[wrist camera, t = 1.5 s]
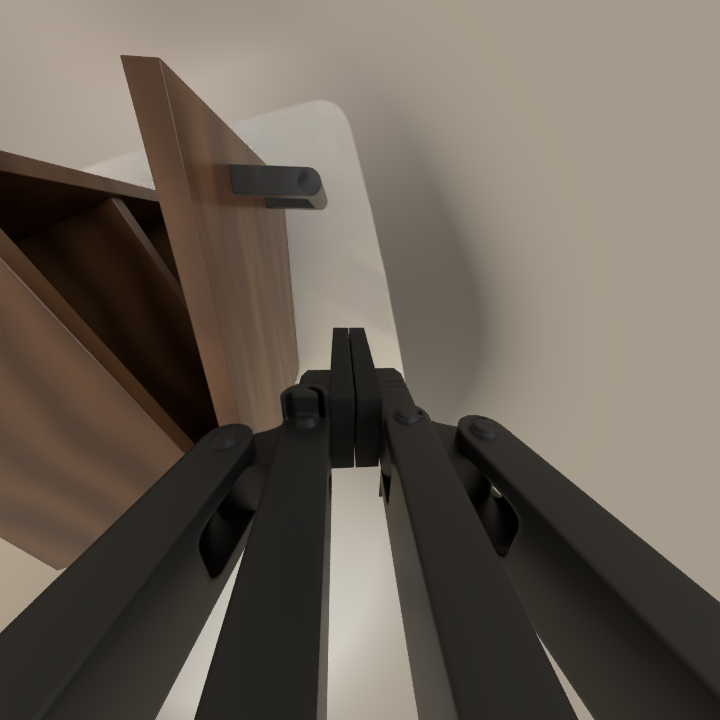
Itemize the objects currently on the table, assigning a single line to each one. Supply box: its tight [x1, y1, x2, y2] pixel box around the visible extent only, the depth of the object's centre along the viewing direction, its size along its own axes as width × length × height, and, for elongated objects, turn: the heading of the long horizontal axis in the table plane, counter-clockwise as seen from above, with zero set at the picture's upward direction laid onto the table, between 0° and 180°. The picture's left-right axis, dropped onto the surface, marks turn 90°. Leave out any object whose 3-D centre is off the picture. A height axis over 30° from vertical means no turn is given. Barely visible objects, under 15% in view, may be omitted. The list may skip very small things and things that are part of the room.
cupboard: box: [0, 151, 219, 570], centre depth 28 cm, size 18×26×24 cm
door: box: [121, 55, 327, 434], centre depth 27 cm, size 7×26×24 cm, turn 179°
